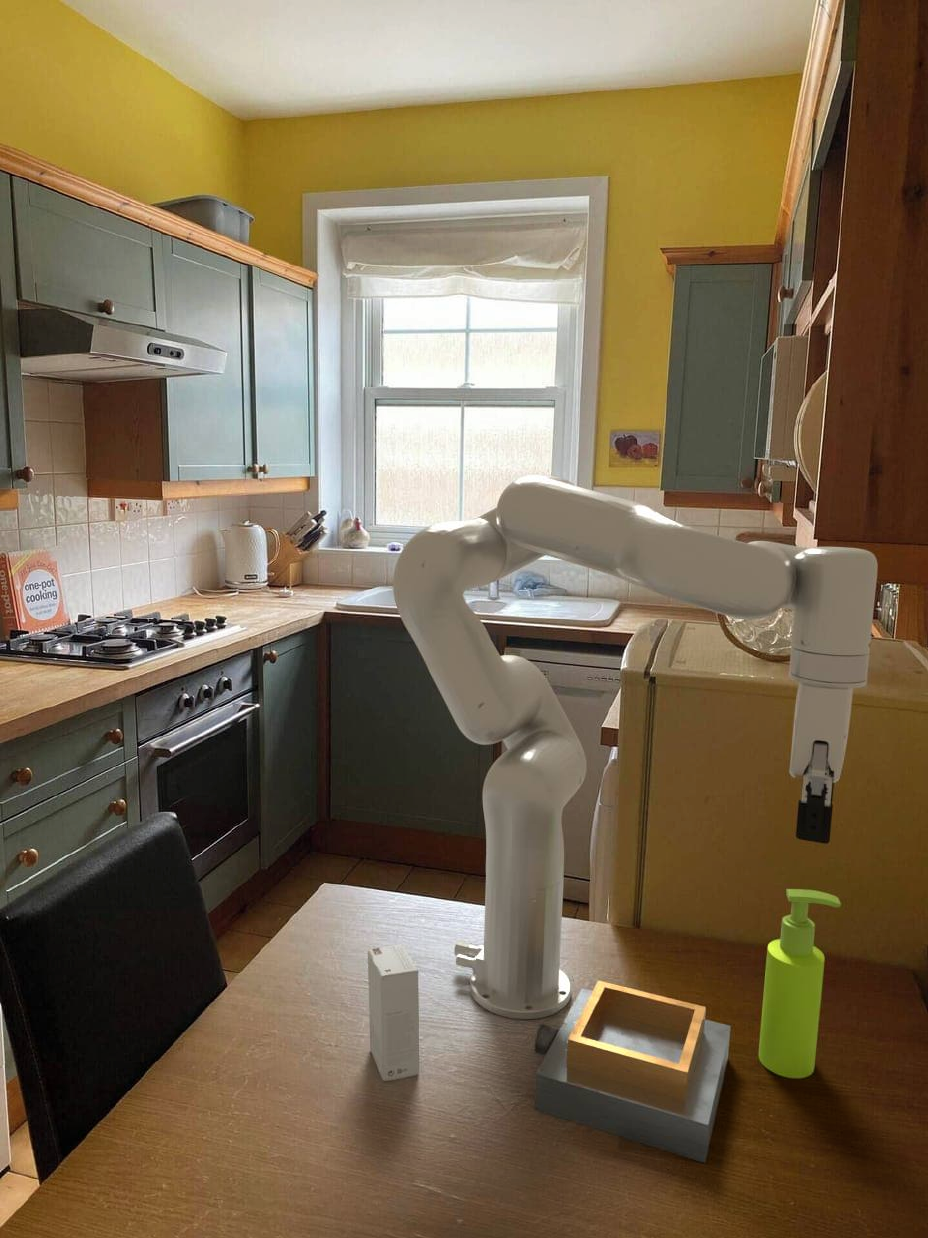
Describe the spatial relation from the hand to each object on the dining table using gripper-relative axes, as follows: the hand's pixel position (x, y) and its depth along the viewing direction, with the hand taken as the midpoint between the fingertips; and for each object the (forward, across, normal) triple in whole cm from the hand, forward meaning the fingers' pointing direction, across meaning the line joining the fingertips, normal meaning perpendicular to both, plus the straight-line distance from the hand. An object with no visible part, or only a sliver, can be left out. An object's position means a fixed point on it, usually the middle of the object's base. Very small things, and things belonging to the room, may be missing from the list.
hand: (814, 824), depth 95 cm
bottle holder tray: (+28, +11, -16) cm, 34 cm away
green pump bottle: (+28, 0, 0) cm, 28 cm away
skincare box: (+28, +19, -40) cm, 53 cm away
